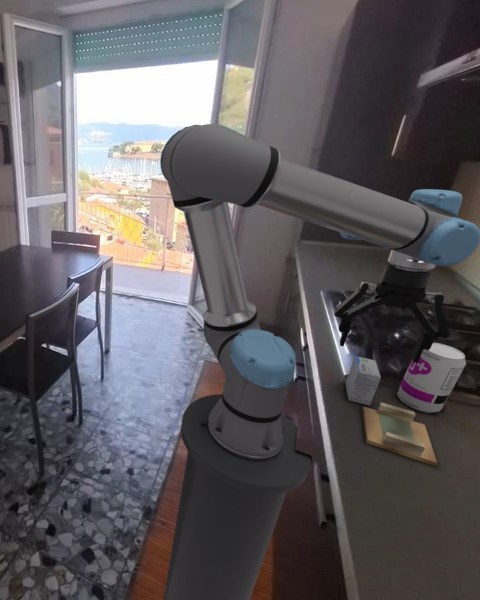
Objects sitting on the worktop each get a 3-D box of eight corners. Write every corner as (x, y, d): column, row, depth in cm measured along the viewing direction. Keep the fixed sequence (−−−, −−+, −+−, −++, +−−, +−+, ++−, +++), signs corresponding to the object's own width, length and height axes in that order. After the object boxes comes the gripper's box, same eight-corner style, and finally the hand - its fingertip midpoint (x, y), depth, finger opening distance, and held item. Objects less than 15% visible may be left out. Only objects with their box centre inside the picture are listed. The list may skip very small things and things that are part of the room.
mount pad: (366, 443, 75) (371, 430, 74) (362, 409, 84) (367, 398, 83) (435, 466, 70) (442, 453, 68) (423, 427, 79) (429, 415, 77)
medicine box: (369, 406, 85) (382, 377, 82) (347, 400, 87) (358, 371, 84) (365, 388, 91) (376, 360, 88) (344, 383, 93) (354, 355, 90)
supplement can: (405, 410, 84) (431, 357, 78) (390, 388, 91) (412, 338, 85) (448, 417, 82) (478, 363, 75) (429, 395, 89) (455, 344, 82)
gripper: (338, 261, 78) (314, 344, 87) (500, 283, 66) (452, 376, 75) (338, 253, 84) (315, 331, 93) (486, 271, 72) (443, 359, 80)
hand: (376, 351), depth 84 cm, fingers open, 13 cm apart
